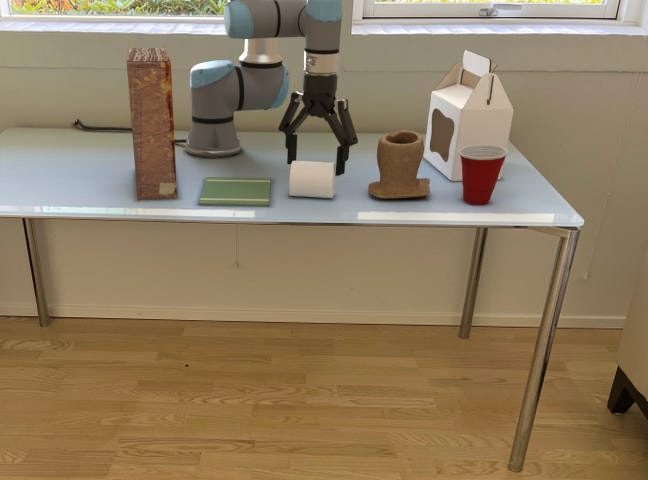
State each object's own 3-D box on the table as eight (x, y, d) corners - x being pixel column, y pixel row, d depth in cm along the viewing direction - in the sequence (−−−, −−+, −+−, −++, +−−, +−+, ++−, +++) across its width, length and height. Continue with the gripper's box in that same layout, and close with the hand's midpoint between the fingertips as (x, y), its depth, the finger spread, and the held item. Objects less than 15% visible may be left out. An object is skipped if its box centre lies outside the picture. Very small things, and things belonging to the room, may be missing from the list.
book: (136, 169, 189) (126, 45, 173) (172, 168, 190) (165, 44, 174) (137, 201, 167) (126, 62, 152) (177, 199, 168) (170, 61, 153)
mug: (331, 202, 167) (333, 168, 163) (288, 200, 168) (289, 166, 164) (335, 187, 177) (337, 154, 173) (295, 184, 178) (296, 152, 174)
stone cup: (374, 205, 165) (380, 138, 158) (364, 189, 175) (369, 126, 168) (439, 204, 166) (448, 138, 158) (425, 188, 176) (433, 125, 169)
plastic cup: (445, 194, 172) (452, 143, 166) (489, 193, 173) (498, 142, 167) (459, 209, 163) (468, 156, 157) (506, 208, 164) (516, 155, 158)
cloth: (198, 205, 165) (198, 202, 165) (207, 178, 182) (206, 176, 182) (269, 206, 164) (269, 204, 164) (270, 179, 182) (270, 177, 181)
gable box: (501, 180, 182) (523, 61, 168) (451, 181, 181) (468, 62, 167) (468, 156, 201) (485, 47, 187) (422, 157, 200) (436, 48, 186)
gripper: (264, 67, 162) (263, 161, 174) (360, 83, 149) (352, 183, 161) (284, 63, 167) (281, 155, 179) (379, 77, 154) (369, 175, 166)
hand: (315, 168), depth 170 cm, fingers open, 13 cm apart
